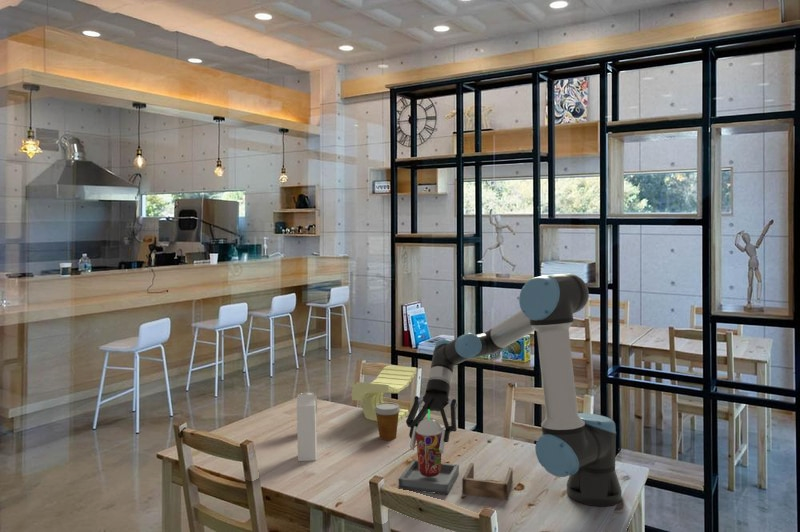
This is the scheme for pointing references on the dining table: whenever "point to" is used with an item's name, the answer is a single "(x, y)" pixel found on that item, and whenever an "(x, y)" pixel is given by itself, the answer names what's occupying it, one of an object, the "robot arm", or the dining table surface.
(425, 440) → the smoothie
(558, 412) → the robot arm
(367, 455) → the dining table surface
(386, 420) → the disposable coffee cup
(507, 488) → the open-sided wooden box
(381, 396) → the slatted curved stool
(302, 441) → the milk
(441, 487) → the tray
